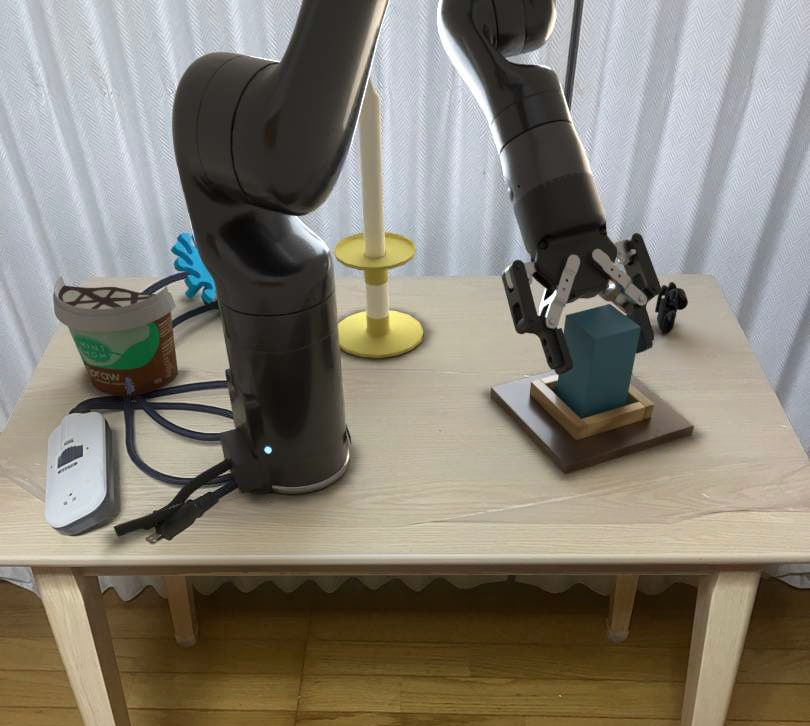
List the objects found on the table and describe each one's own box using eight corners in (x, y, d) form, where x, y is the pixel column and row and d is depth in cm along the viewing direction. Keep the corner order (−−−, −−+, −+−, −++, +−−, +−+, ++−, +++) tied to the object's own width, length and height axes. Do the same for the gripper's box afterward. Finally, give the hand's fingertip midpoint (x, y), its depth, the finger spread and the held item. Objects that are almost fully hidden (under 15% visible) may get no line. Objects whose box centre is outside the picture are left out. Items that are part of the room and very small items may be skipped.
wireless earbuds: (652, 312, 98) (660, 270, 95) (674, 313, 98) (684, 271, 94) (661, 344, 93) (670, 301, 89) (684, 345, 93) (694, 302, 89)
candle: (400, 304, 100) (395, 45, 82) (438, 344, 94) (441, 71, 75) (320, 324, 97) (295, 58, 79) (353, 366, 91) (334, 88, 72)
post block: (582, 424, 81) (595, 339, 75) (555, 398, 84) (565, 314, 78) (625, 411, 82) (641, 327, 76) (596, 386, 85) (610, 303, 79)
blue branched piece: (224, 313, 96) (161, 241, 94) (195, 343, 99) (133, 273, 97) (270, 282, 104) (213, 215, 102) (242, 310, 108) (186, 246, 106)
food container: (54, 395, 88) (22, 305, 81) (83, 363, 92) (56, 275, 85) (167, 409, 86) (144, 318, 79) (191, 375, 90) (172, 286, 83)
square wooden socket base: (565, 474, 77) (568, 452, 75) (490, 395, 86) (491, 374, 85) (692, 434, 81) (698, 412, 79) (607, 362, 90) (611, 341, 89)
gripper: (498, 184, 72) (557, 368, 73) (639, 156, 77) (694, 331, 77) (467, 222, 80) (520, 390, 80) (597, 195, 84) (647, 354, 84)
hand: (605, 361), depth 78 cm, fingers open, 8 cm apart
